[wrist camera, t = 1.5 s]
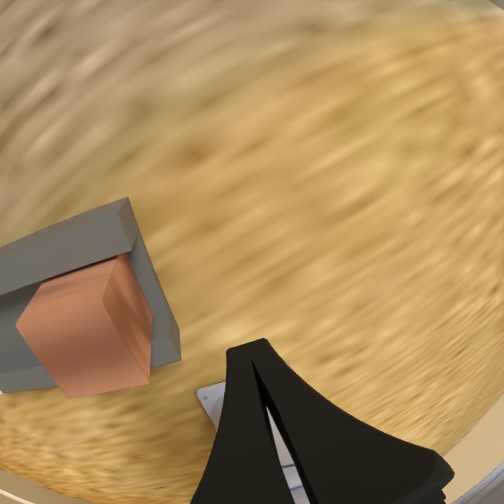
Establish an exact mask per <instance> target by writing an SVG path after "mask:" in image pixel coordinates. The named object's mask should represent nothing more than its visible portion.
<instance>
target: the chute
mask: <svg viewBox="0 0 504 504" xmlns="http://www.w3.org/2000/svg"><path fill="white" fill-rule="evenodd" d="M125 252H127V255H128V257H129V260H130V262H131V265H132V267H133V270H134V272H135V274H136V277H137V279H138V282H139V284H140V286H141V288H142V291H143V293H144V295H145V297H146V300H147V302H148V304H149V306H150V308H151V311H152V313H153V322H152V337H151V356H150V368H152V367H157V366H161V365H165V364H169V363H173V362H177V361H181V350H180V334H179V327H178V325H177V323H176V321H175V318H174V316H173V314H172V312H171V309H170V307H169V305H168V302H167V300H166V298H165V295H164V293H163V290H162V288H161V285H160V283H159V280H158V278H157V275H156V273H155V270H154V268H153V265H152V263H151V260H150V257H149V255H148V252H147V250H146V247H145V244H144V241H143V239H142V236H141V233H140V230H139V228H138V225H137V222H136V219H135V216H134V213H133V210H132V207H131V204H130V201H129V198H128V197H127V198H124V199H121V200H118V201H115V202H112V203H109V204H107V205H104V206H101V207H98V208H96V209H93V210H90V211H87V212H85V213H82V214H80V215H77V216H74V217H72V218H69V219H67V220H64V221H62V222H59V223H57V224H54V225H52V226H49V227H47V228H45V229H42V230H40V231H37V232H35V233H33V234H30V235H28V236H26V237H24V238H21V239H19V240H17V241H15V242H13V243H10V244H8V245H6V246H4V247H2V248H0V394H3V393H8V392H17V391H25V390H33V389H41V388H48V387H55V386H58V385H57V384H56V382H55V381H54V380H53V379H52V377H51V376H50V375H49V373H48V372H47V371H46V370H45V368H44V367H43V366H42V364H41V363H40V361H39V360H38V359H37V357H36V356H35V354H34V353H33V352H32V350H31V349H30V347H29V346H28V344H27V343H26V341H25V340H24V338H23V337H22V335H21V334H20V332H19V331H18V329H17V327H16V326H15V325H16V323H17V321H18V320H19V318H20V317H21V315H22V313H23V312H24V310H25V309H26V307H27V305H28V304H29V302H30V301H31V299H32V298H33V296H34V295H35V293H36V292H37V290H38V289H39V287H40V286H41V284H42V283H43V281H44V280H45V279H47V278H50V277H53V276H55V275H58V274H61V273H64V272H67V271H70V270H73V269H76V268H79V267H82V266H85V265H88V264H91V263H94V262H97V261H100V260H103V259H106V258H109V257H112V256H116V255H119V254H122V253H125Z"/></svg>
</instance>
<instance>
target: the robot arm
mask: <svg viewBox="0 0 504 504" xmlns="http://www.w3.org/2000/svg"><path fill="white" fill-rule="evenodd" d="M226 361H227V368H226V381H225V382H222V383H218V384H214V385H211V386H207V387H203V388H200V389H198V390H197V391H196V394H197V397H198V399H199V401H200V402H201V404H202V406H203V407H204V409H205V411H206V412H207V414H208V416H209V417H210V419H211V421H212V422H213V424H214V426H215V429H216V437H215V441H214V444H213V448H212V451H211V454H210V457H209V460H208V463H207V466H206V468H205V471H204V474H203V476H202V479H201V481H200V483H199V486H198V488H197V490H196V492H195V494H194V496H193V498H192V500H191V503H190V504H446V503H445V502H444V499H446V496H445V494H444V493H443V491H442V489H443V488H444V487H445V486H446V485H447V484H448V483H449V482H450V481H451V480H452V479H453V478H454V474H455V473H454V471H453V470H452V468H451V467H450V465H449V464H448V463H447V462H446V461H445V460H444V459H443V458H442V457H441V456H440V455H439V454H438V453H437V452H436V451H434V450H431V449H428V448H424V447H421V446H418V445H415V444H412V443H409V442H406V441H403V440H401V439H398V438H396V437H393V436H391V435H389V434H386V433H384V432H382V431H380V430H378V429H376V428H374V427H372V426H370V425H368V424H366V423H364V422H362V421H360V420H358V419H357V418H355V417H353V416H352V415H350V414H348V413H347V412H345V411H343V410H342V409H340V408H339V407H337V406H336V405H334V404H333V403H331V402H330V401H329V400H327V399H326V398H325V397H323V396H322V395H321V394H319V393H318V392H317V391H316V390H314V389H313V388H312V387H311V386H310V385H308V384H307V383H306V382H305V381H304V380H303V379H302V378H301V377H300V376H299V375H297V374H296V373H295V372H294V371H293V370H292V369H291V367H290V365H289V364H287V363H285V362H284V360H283V359H282V358H281V357H280V356H279V355H278V354H277V352H276V351H275V350H274V349H273V347H272V346H271V345H270V343H269V342H268V340H267V339H265V338H262V339H259V340H255V341H252V342H249V343H246V344H242V345H239V346H236V347H232V348H229V349H228V350H227V351H226ZM204 396H205V397H204ZM452 504H504V461H503V462H502V463H501V464H500V465H499V466H498V467H496V468H495V469H494V470H493V471H492V472H491V473H490V474H489V475H487V476H486V477H485V478H484V479H483V480H482V481H480V482H479V483H478V484H477V485H475V486H474V487H473V488H472V489H470V490H469V491H468V492H467V493H465V494H464V495H463V496H461V497H460V498H459V499H457V500H456V501H454V502H453V503H452Z"/></svg>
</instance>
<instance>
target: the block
mask: <svg viewBox="0 0 504 504" xmlns="http://www.w3.org/2000/svg"><path fill="white" fill-rule="evenodd" d="M152 322H153V313H152V311H151V308H150V306H149V304H148V302H147V300H146V297H145V295H144V293H143V291H142V288H141V286H140V284H139V282H138V279H137V277H136V274H135V272H134V270H133V267H132V265H131V262H130V260H129V257H128V255H127V252H125V253H122V254H119V255H116V256H112V257H109V258H106V259H103V260H100V261H97V262H94V263H91V264H88V265H85V266H82V267H79V268H76V269H73V270H70V271H67V272H64V273H61V274H58V275H55V276H53V277H50V278H47V279H45V280H44V281H43V283H42V284H41V286H40V287H39V289H38V290H37V292H36V293H35V295H34V296H33V298H32V299H31V301H30V302H29V304H28V305H27V307H26V309H25V310H24V312H23V313H22V315H21V317H20V318H19V320H18V321H17V323H16V325H15V326H16V327H17V329H18V331H19V332H20V334H21V335H22V337H23V338H24V340H25V341H26V343H27V344H28V346H29V347H30V349H31V350H32V352H33V353H34V354H35V356H36V357H37V359H38V360H39V361H40V363H41V364H42V366H43V367H44V368H45V370H46V371H47V372H48V373H49V375H50V376H51V377H52V379H53V380H54V381H55V382H56V384H57V385H58V386H59V387H60V389H61V390H62V391H63V392H64V393H65V395H66V396H67V397H68V398H72V397H79V396H86V395H92V394H98V393H104V392H109V391H115V390H120V389H126V388H131V387H136V386H140V385H145V384H150V356H151V337H152Z"/></svg>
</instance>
